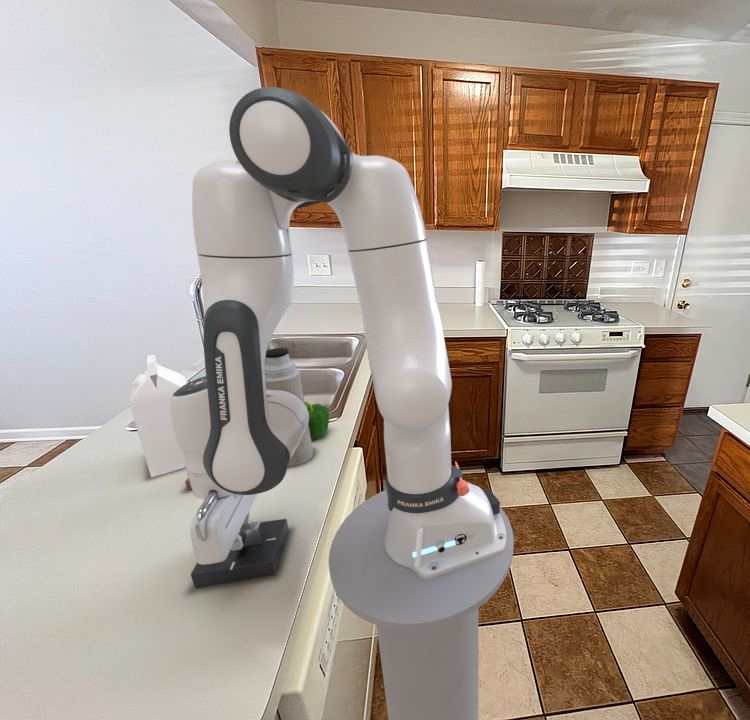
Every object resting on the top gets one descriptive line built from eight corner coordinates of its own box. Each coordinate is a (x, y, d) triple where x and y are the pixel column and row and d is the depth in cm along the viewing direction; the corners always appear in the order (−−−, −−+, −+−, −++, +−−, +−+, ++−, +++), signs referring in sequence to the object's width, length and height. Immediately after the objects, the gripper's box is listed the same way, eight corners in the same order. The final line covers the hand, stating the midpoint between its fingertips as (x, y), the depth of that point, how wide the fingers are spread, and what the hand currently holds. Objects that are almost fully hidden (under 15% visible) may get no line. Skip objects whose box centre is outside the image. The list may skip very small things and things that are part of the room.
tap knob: (264, 537, 70) (259, 520, 69) (261, 544, 68) (257, 527, 67) (223, 543, 69) (218, 526, 67) (219, 550, 67) (214, 533, 66)
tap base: (289, 529, 76) (286, 516, 75) (274, 576, 66) (271, 562, 65) (220, 539, 73) (216, 526, 72) (193, 590, 63) (188, 575, 62)
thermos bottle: (309, 444, 104) (291, 342, 94) (316, 459, 97) (298, 352, 88) (275, 454, 99) (253, 348, 90) (281, 470, 93) (258, 359, 83)
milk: (210, 459, 97) (183, 360, 88) (151, 477, 91) (114, 372, 81) (206, 438, 106) (181, 347, 97) (152, 453, 99) (119, 356, 90)
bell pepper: (338, 432, 109) (333, 399, 106) (312, 446, 103) (307, 412, 99) (318, 424, 113) (313, 392, 110) (292, 437, 107) (286, 404, 103)
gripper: (219, 515, 54) (240, 589, 59) (263, 438, 73) (276, 498, 78) (167, 522, 53) (193, 597, 58) (225, 441, 72) (241, 503, 77)
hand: (241, 540), depth 68 cm, fingers closed on tap knob, 2 cm apart
